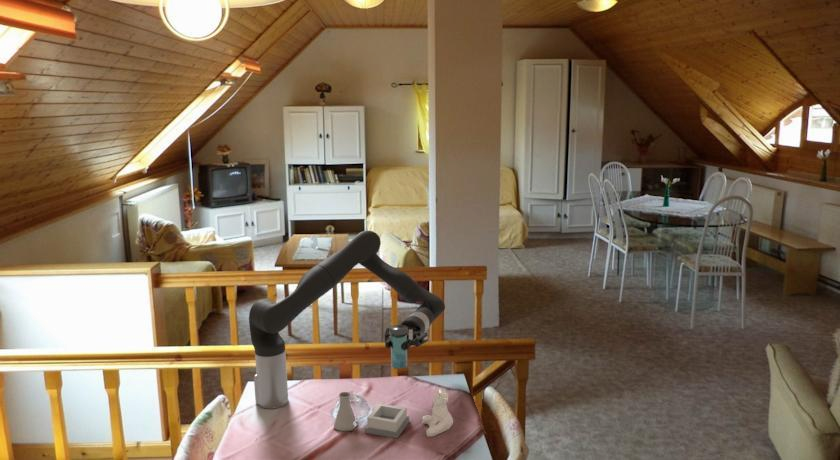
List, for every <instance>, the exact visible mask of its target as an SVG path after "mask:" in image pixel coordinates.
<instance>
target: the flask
mask: <svg viewBox="0 0 840 460" xmlns="http://www.w3.org/2000/svg"><path fill="white" fill-rule="evenodd" d="M338 396H339V397H338V398H340V399H339V406H338V407H339V408H338V409H337V413H336V417H335V419H334V422H333V429H334V430H337V431H340V432H348V431H353V430H354V429H353V427H354V425H353V422H354V421H355V417H356V415H355V413H354V410H353V408H352V406H351V402H350V396H351V394H350V392H348V391H341V392H340V393H339V394H338ZM354 415H355V416H354Z"/></svg>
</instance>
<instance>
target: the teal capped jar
mask: <svg viewBox="0 0 840 460" xmlns="http://www.w3.org/2000/svg"><path fill="white" fill-rule="evenodd" d="M388 328H389V334H390V335H391V347H390V366H391V368H392V369H396V370H402V369H405V368H407V367H408V350H406V351H403V344H404V342H405V341H406V340H407V334H408V327H407V326H405V325H401V324H394V325H390V327H388Z"/></svg>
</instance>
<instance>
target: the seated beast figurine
mask: <svg viewBox="0 0 840 460" xmlns="http://www.w3.org/2000/svg"><path fill="white" fill-rule="evenodd" d="M433 397H434V398H433V401H432V403H433V406H432V409H431V414H426V415H423V416H422V417H421V423H422V424H423V425H428V426H429V427H428V428H427V429H426V431H425V433H426V436H427V437H428V438H431V437H435V436H437V435H439V434H442V433H444V432H447V431H449V429H451V427H452V426H453V424H454V419H453V415H452V414H451V413H450V412H449V410H448V405H447V403H449V397H450V396H449V393H448V392H447V391H446V389H445V388H444V387H443V388H440V389H438V390H437V393H436V395H434V396H433Z"/></svg>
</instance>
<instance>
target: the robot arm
mask: <svg viewBox="0 0 840 460" xmlns="http://www.w3.org/2000/svg"><path fill="white" fill-rule="evenodd" d="M381 243H382V241H381V238H380V236H379V234H377V232H374V231H372V230H363V231H360V232H359V233H358V234H356V235H355V236H354V237H353V238H352V240H350V241H349V242H348V243H347V244H346V245H345V246H343V247H342V248H341V249H339V250H338V251H336V252H334V253H333V254H331V255H330V256H328V257H327V258H325V259H323V260H322V261H321V262H319V263H317V264H316V265H314V266H313V267H312V268H310V269H308V270H307V271H306V272H305V273H304V274H303V275H302V276H301V277H300V280H299V282H298V283H297V286H296V288H295V289H294V290H293V291H292V292H291V293H290V294H288V296H286V297H285V298H283V299H282V300H280V301H279V302H274V301H272V300H269V299H264V298H263V299H259V300H257V301H255V302H254V303H253V304H252V306H251V307H250V310H249V313H248V325H249V332H250V340H251V341H250V342H251V343H252V346H253V348H254V357H255V358H254V359H255V371H256V372H255V373H256V374H255V375H253V384H254V396H255V405H258V406H259V407H261V408H263V409H269V410H270V409H278V408H281V407H283V406H285V405H286V404H288V402H289V390H288V389H289V387H288V386H289V385H288V373H287V371H288V369H287V358H286V357H287V355H286V343H285V340H284V339H283V337H282V336H281V335H280V332H281V331H283V330H284V329H286V327H288V326H289V325H290V324H291V323H292V322H293V321H294V320H295V319H296V318H297V317H299V315H300V314H301V313H302V312H303V311H304V310H306V309H308V307H310V306H311V305H312V304H314V302H316V301H317V300H318V299H320V298H321V297H322V296H324V295H326V294H327V293H328V292H330V290H332V289H334V287H336V286H337V285H338V284H339V283H340V282H341V281H342V280H343V279H344V278H345V277H346V276H347V275H348V274H349V273H350V272H351V271H352V270H353V268H354V267H356V266H357V265H358V264H359V265H361V266H362V267H363V268H365V269H366V270H368V271H370V272H371V273H372V274H374V275H375V276H376V277H378V278H379V279H381V280H382V281H384V283H386V284H387V285H388V286H389V287H390V288H391V289H393V290H394V291H395V292H396V293H397V294H398V295H399V296H400V297H401V298H402V299H404V300H405V301H406V302H407V303H408V304H413V303H415V302H416V301H418V300H419V301H422V303H421V304H420V305H419V306H418V307H417V308H416V310H415V311H413V312H412V313H411V314H410V315H408V316H406V318H405V319H404V320H403V321H402V322H401V323H400V325H405V326H407V327H408V334H407V340H406V341H405V342H404V344H403V351H406V350H407V351H408V350H409V349H411V348H412V347H413V346H414V347H416V348H418V347H421V345H424V344H425V343H427V342H428V332H427V331H428V329H429V327H430V326H431V325H432V323H433V322H434V321H436V319H437V318H438V317H439V316H440V315H442V314H443V312H444V311H445V310H446V304H445V301H444V300H443V299H442V298H441V297H439V296H438V295H437V294H434V293H432V292H431V291H428V290H427V289H425V288H423V287H422V286H420V285H419V284H418V283H417V281H415V280H414V279H413V278H412V277H411V276H410V275H409V274H407V273H406V272H405V271H402V270H401V269H398V268H396V267H394V266H392V265H390V264H388V263H387V262H386V261H384V260H383V259H382V258H381V257H380V256H379V255H378V252H379V250H380V249H381V248H380V247H381ZM389 328H390V327H388V328H386V329H385V332H384V345H385V348H386V349H388V350H389V349H391V335H390V334H389Z"/></svg>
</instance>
